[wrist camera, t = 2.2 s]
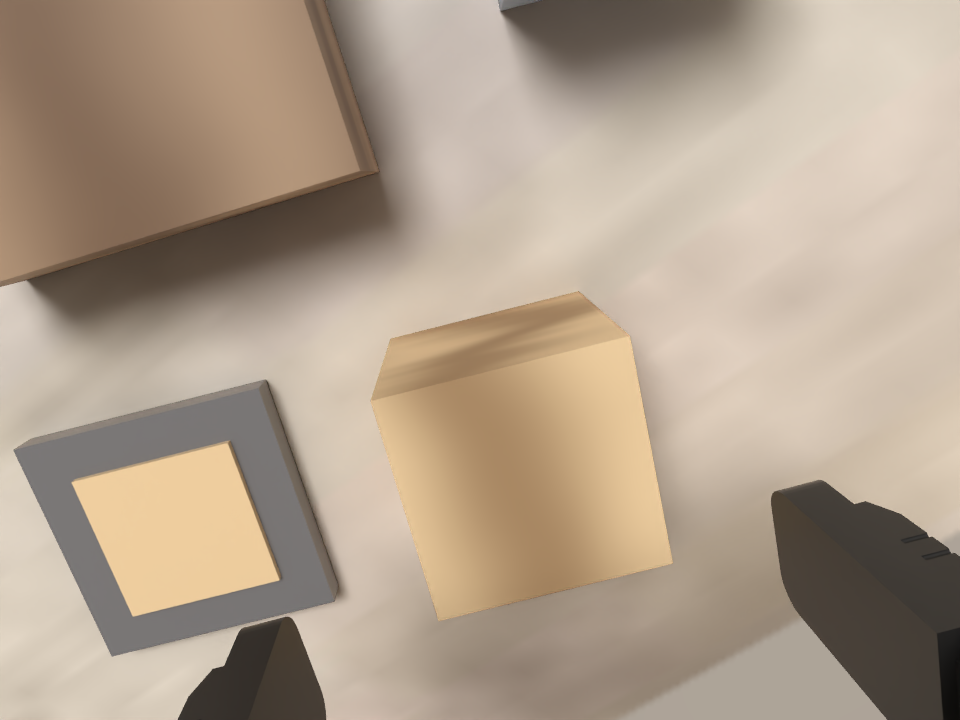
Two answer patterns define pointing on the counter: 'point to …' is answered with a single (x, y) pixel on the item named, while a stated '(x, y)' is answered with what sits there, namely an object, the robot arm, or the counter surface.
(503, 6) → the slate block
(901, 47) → the counter surface
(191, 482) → the tile
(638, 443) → the oak block
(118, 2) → the base block
